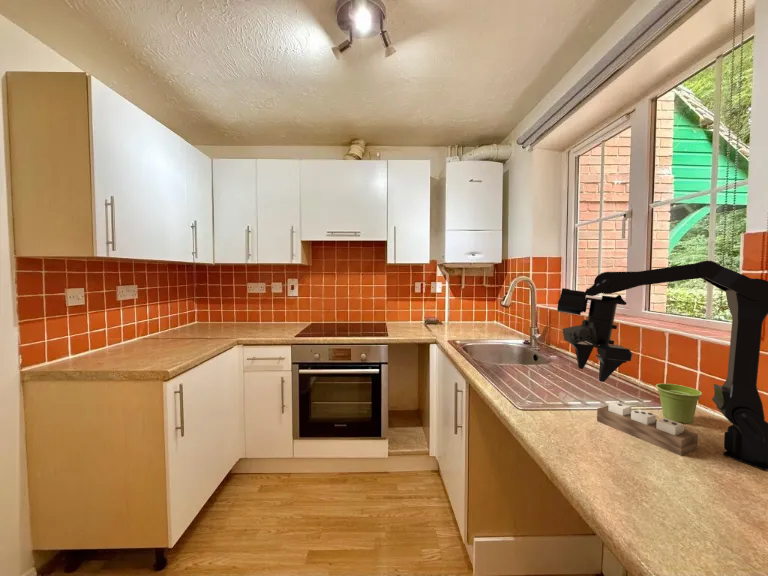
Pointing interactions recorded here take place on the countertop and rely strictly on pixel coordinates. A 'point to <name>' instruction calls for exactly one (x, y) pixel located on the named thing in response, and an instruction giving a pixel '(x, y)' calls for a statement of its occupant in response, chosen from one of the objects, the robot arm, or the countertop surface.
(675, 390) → the plant pot
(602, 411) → the tile board
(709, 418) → the countertop surface
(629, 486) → the countertop surface
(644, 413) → the tile three dot
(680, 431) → the tile two dot
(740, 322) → the robot arm
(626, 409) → the tile one dot
